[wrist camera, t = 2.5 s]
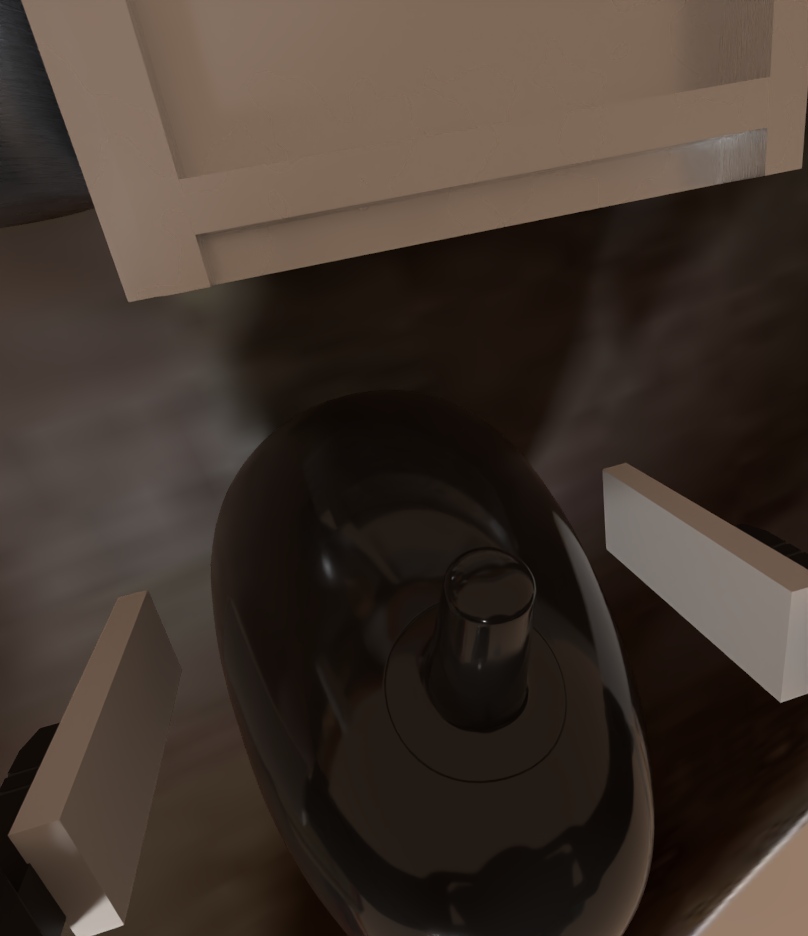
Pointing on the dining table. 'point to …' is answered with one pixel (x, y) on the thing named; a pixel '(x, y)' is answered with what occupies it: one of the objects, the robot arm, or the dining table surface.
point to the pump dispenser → (430, 678)
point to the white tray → (377, 119)
